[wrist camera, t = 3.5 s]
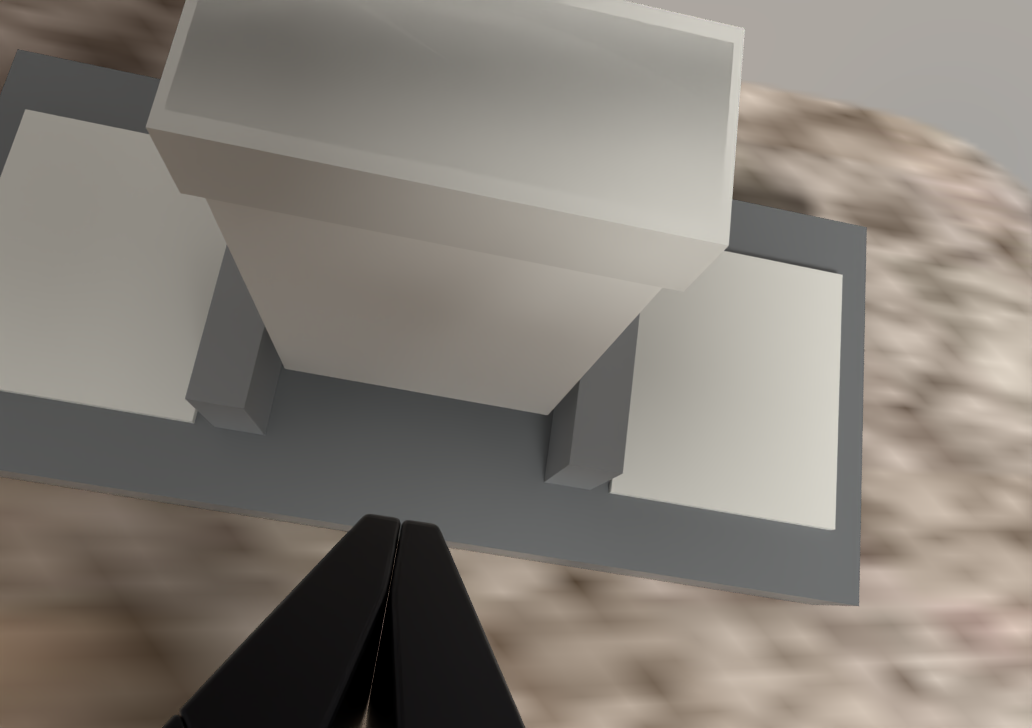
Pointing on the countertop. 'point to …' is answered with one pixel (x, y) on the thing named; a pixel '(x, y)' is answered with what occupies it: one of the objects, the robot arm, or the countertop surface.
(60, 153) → the grey stand base
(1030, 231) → the countertop surface
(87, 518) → the countertop surface
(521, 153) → the handle
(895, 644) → the countertop surface
